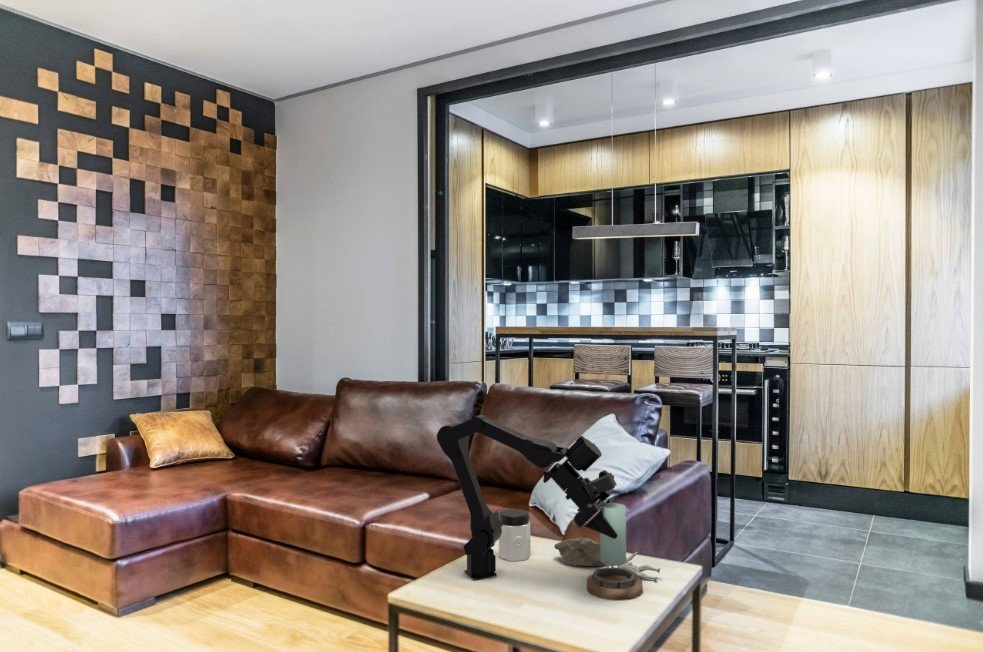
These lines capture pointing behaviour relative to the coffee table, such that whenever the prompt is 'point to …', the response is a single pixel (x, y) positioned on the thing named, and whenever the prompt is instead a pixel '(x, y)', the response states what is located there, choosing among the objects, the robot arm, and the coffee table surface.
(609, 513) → the column
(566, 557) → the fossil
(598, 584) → the segmented ring tray
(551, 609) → the coffee table surface
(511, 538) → the jar
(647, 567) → the soldier figure
